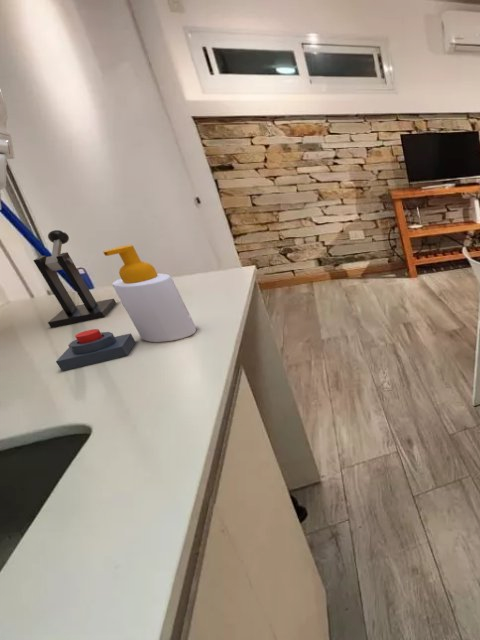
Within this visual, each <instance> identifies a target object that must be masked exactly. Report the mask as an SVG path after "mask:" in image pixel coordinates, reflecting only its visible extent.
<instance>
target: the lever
mask: <svg viewBox="0 0 480 640" xmlns="http://www.w3.org/2000/svg"><path fill="white" fill-rule="evenodd" d="M47 238H48V240H49V242H51V243H52V251H51V255H50V256H46V262H45V264H46V265H47V267H48V268H49V269H50V270H51V271H55V272H57V271H64V270H63V268H62V266H61V265H60V263H59V261H58V259H57V258H56V257H57V256H58V255H60V254H62V246H63V245H65V244H66V243H68V242H69V240H70V237H69V235H68V233H67V232H65V231H63V230H59V229H54V230H51V231H50V232H48V234H47Z"/></svg>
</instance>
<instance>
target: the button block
mask: <svg viewBox="0 0 480 640" xmlns="http://www.w3.org/2000/svg"><path fill="white" fill-rule="evenodd" d="M100 333H101V334H102V336H103V337H102V338H100V339H98V340H95V341H92V342H88V343H83V344H79V342H78V340H77V339H74V340H72V341H70V343H68V345H67V346H68V347H67V349H66V350H65V351H64V352H63V353H62V354H61V355H60V356H59V358H57V360H56V361H55V363H56V364H57V366H58V368H59V369H60V371H61V372H64V371H69V370H73V369H77V368H81V367H86V366H90V365H94V364H99V363H103V362H107V361H111V360H116V359H120V358H123V357H127V356H128V355H129V354H130V352H131V351H132V349H133V347H134V346H135V344H136V340H135V338H134V336H133V334H132V333H125V334H122V335H117V336H115V335H114V334H113V332H110V331H102V332H101V331H100Z"/></svg>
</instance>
